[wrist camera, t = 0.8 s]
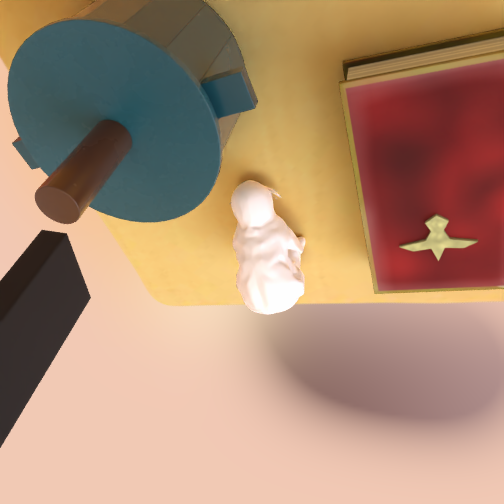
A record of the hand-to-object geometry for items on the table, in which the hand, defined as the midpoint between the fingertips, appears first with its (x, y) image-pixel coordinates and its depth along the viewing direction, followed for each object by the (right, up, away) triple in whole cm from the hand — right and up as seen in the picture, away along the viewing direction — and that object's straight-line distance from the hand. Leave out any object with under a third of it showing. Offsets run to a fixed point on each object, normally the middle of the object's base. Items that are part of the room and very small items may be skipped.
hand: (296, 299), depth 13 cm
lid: (-10, +9, +19) cm, 23 cm away
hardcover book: (+14, +8, +26) cm, 31 cm away
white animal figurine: (+1, +5, +33) cm, 34 cm away
